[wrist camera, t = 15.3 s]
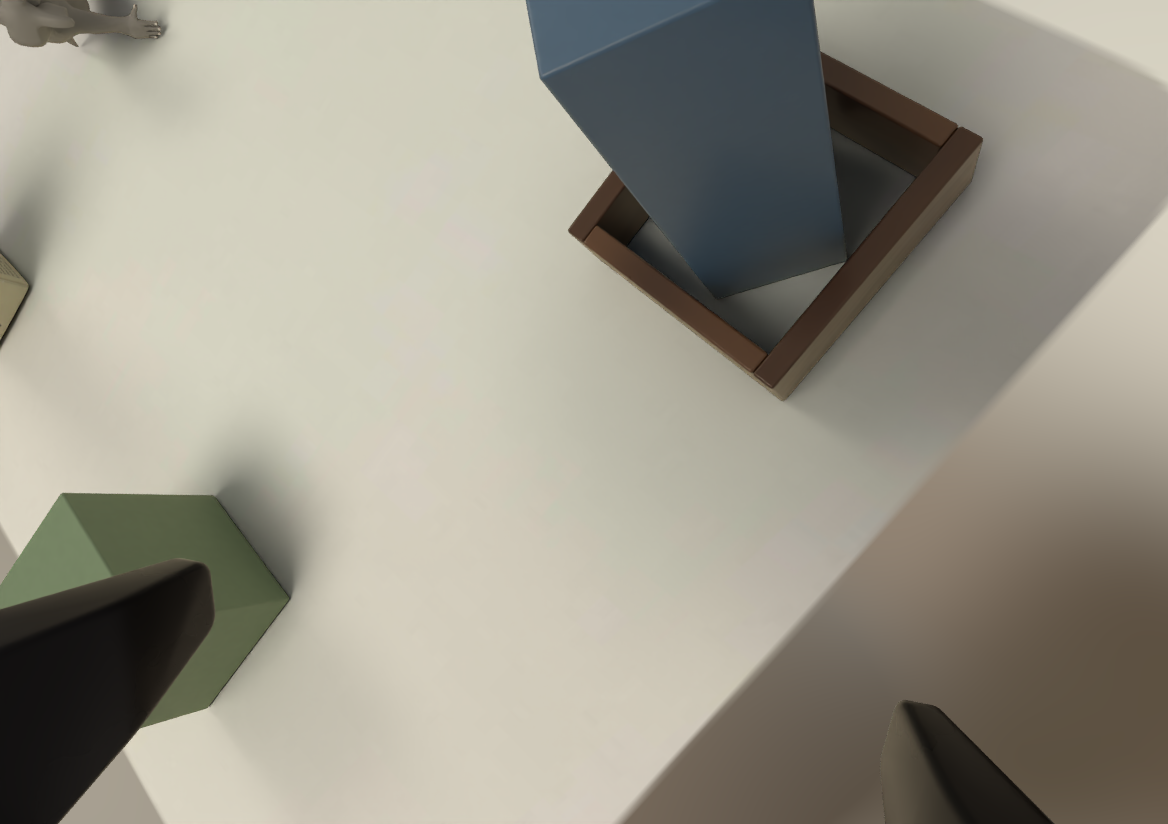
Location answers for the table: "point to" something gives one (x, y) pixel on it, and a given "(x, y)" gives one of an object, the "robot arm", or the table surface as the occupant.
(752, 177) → the peg
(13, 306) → the box
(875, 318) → the table surface
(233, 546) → the riser
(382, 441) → the table surface
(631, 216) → the stand
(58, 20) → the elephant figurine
